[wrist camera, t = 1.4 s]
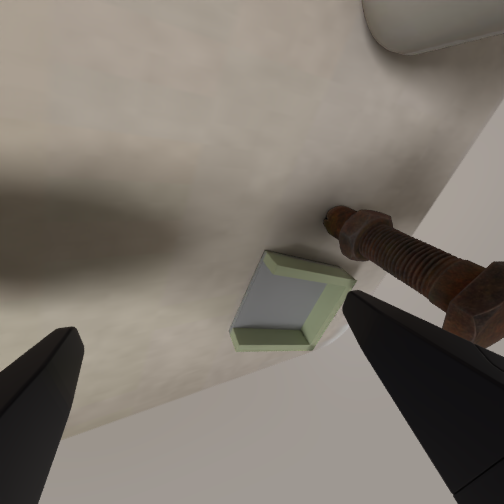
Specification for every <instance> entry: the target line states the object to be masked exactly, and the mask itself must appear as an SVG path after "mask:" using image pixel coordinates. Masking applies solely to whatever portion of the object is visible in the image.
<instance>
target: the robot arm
mask: <svg viewBox="0 0 504 504" xmlns="http://www.w3.org/2000/svg"><path fill="white" fill-rule="evenodd" d="M342 310H343V314H344V316H345V318H346V320H347V322H348V324H349V326H350V328H351V330H352V332H353V333H354V336H355V338H356V339H357V342H358V344H359V345H360V347H361V349H362V351H363V352H364V354H365V356H366V357H367V359H368V361H369V362H370V364H371V365H372V367H373V369H374V370H375V372H376V373H377V375H378V377H379V378H380V380H381V381H382V383H383V385H384V386H385V388H386V389H387V391H388V393H389V394H390V395H391V397H392V399H393V401H394V402H395V404H396V405H397V407H398V408H399V410H400V411H401V413H402V415H403V417H404V418H405V420H406V421H407V423H408V425H409V426H410V428H411V429H412V431H413V432H414V434H415V436H416V437H417V439H418V440H419V442H420V444H421V445H422V447H423V448H424V450H425V452H426V453H427V455H428V456H429V458H430V460H431V461H432V463H433V464H434V466H435V468H436V469H437V470H438V472H439V474H440V475H441V477H442V479H443V480H444V482H445V484H446V485H447V487H448V488H449V490H450V492H451V493H452V494H453V497H454V498H455V500H456V501H457V503H458V504H504V357H503V356H501V355H498V354H496V353H494V352H492V351H489V350H487V349H485V348H483V347H481V346H479V345H477V344H473V343H472V342H470V341H468V340H466V339H464V338H461V337H459V336H457V335H455V334H453V333H451V332H448V331H446V330H444V329H442V328H440V327H438V326H435V325H433V324H431V323H429V322H427V321H425V320H423V319H420V318H418V317H416V316H414V315H412V314H410V313H407V312H405V311H403V310H401V309H399V308H397V307H395V306H392V305H390V304H388V303H386V302H384V301H382V300H379V299H377V298H375V297H373V296H371V295H369V294H367V293H364V292H362V291H360V290H354V291H349V292H348V293H347V295H346V298H345V301H344V304H343V307H342ZM83 356H84V345H83V343H82V340H81V338H80V335H79V333H78V331H77V329H76V328H75V327H64V328H58V329H56V330H54V331H53V332H51V333H50V334H49V335H48V336H46V337H45V338H44V339H42V340H41V341H40V342H39V343H37V344H36V345H35V346H33V347H32V348H31V349H30V350H28V351H27V352H26V353H24V354H23V355H22V356H20V357H19V358H18V359H17V360H15V361H14V362H13V363H11V364H10V365H9V366H8V367H6V368H5V369H4V370H2V371H1V372H0V504H38V502H39V500H40V497H41V493H42V491H43V488H44V485H45V482H46V479H47V476H48V474H49V471H50V468H51V465H52V462H53V460H54V457H55V454H56V451H57V448H58V445H59V442H60V440H61V437H62V434H63V431H64V428H65V425H66V422H67V420H68V416H69V413H70V410H71V407H72V403H73V399H74V394H75V390H76V386H77V381H78V377H79V373H80V369H81V364H82V360H83Z"/></svg>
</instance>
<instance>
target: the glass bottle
mask: <svg viewBox="0 0 504 504" xmlns="http://www.w3.org/2000/svg"><path fill="white" fill-rule="evenodd" d="M362 4H363V10H364V15H365V18H366V21H367V24H368V27H369V29H370V32H371V33H372V35H373V37H374V38H375V39H376V41H377V42H378V43H379V44H380V45H381V46H383V47H384V48H385V49H387V50H389V51H392V52H395V53H399V54H404V55H417V54H421V53H425V52H429V51H433V50H437V49H441V48H446V47H450V46H454V45H458V44H462V43H466V42H470V41H475V40H479V39H483V38H487V37H491V36H495V35H499V34H504V0H362Z"/></svg>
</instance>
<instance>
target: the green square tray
mask: <svg viewBox="0 0 504 504" xmlns="http://www.w3.org/2000/svg"><path fill="white" fill-rule="evenodd" d="M356 281H357V280H355V279H354V278H353V277H352V276H350V275H349V274H348V273H347V272H345V271H344V270H343V269H342V268H340V267H338V266H334V265H329V264H325V263H320V262H316V261H311V260H307V259H302V258H298V257H293V256H289V255H284V254H280V253H275V252H271V251H266V250H265V251H264V253H263V255H262V258H261V260H260V262H259V264H258V267H257V269H256V271H255V273H254V276H253V278H252V280H251V282H250V285H249V287H248V289H247V291H246V294H245V296H244V298H243V300H242V303H241V305H240V307H239V309H238V312H237V314H236V316H235V318H234V321H233V323H232V325H231V327H230V330H229V333H230V336H231V339H232V342H233V345H234V348H235V351H236V352H259V351H312V350H313V349H314V347H315V346H316V344H317V343H318V341H319V339H320V338H321V336H322V335H323V333H324V332H325V330H326V328H327V327H328V325H329V324H330V322H331V321H332V319H333V318H334V316H335V314H336V313H337V311H338V310H339V308H340V307H341V305H342V303H343V302H344V300H345V298H346V295H347V293H348V292H349V291H351V289H352V288H353V286H354V285H355V283H356Z"/></svg>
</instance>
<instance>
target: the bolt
mask: <svg viewBox="0 0 504 504" xmlns="http://www.w3.org/2000/svg"><path fill="white" fill-rule="evenodd" d="M326 217H327V218H328V219H327V220H326V219H324V222H323V224H324V226H325V227H326V229H327V231H328V233H329V234H331V235H332V236H333V237H335V238H337V239H338V240H339V244H340V249H341V252H342V254H343V255H345V256H346V257H348V258H349V259H351V260H356V261H368V260H370V261H372V262H374V263H375V264H377V265H378V266H380V267H381V268H382V269H383V270H385V271H387V272H388V273H390V274H391V275H393V276H394V277H396V278H397V279H398V280H401V281H402V282H403V283H405V284H407V285H408V286H410V287H411V288H413V289H415V290H416V291H418V292H419V293H420V294H423V296H425V297H426V298H427V299H429V301H430V302H431V303H432V304H434V305H435V306H437V307H438V308H440V309H441V310H443V311H444V312H446V316H445V320H444V323H443V327H442V329H444V330H446V331H448V332H451V333H453V334H455V335H457V336H459V337H461V338H464V339H466V340H468V341H470V342H472V343H473V344H477V345H479V346H481V347H483V348H487V347H489V346H491V345H492V344H494V343H496V342H498V341H499V340H500V339H502V338H504V262H493V263H491V264H490V265H489V266H488V267H487V268H484V267H482V266H480V265H477V264H475V263H473V262H471V261H468V260H462V259H461V258H457V257H456V256H452V255H451V254H449V253H446V252H444V251H442V250H440V249H437V248H436V247H434V246H431V245H430V244H427V243H425V242H422V241H421V240H418V239H415V238H414V237H410V236H409V235H407V234H405V233H402V232H400V231H399V230H396V229H394V228H393V223H392V220H391V216H388V215H386V214H384V213H381V212H377V211H372V210H359V211H358V212H357V211H354V210H352V209H350V208H348V207H345V206H337V207H334V208H332V209H331V210H329V211H328V213H327V216H326Z"/></svg>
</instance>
